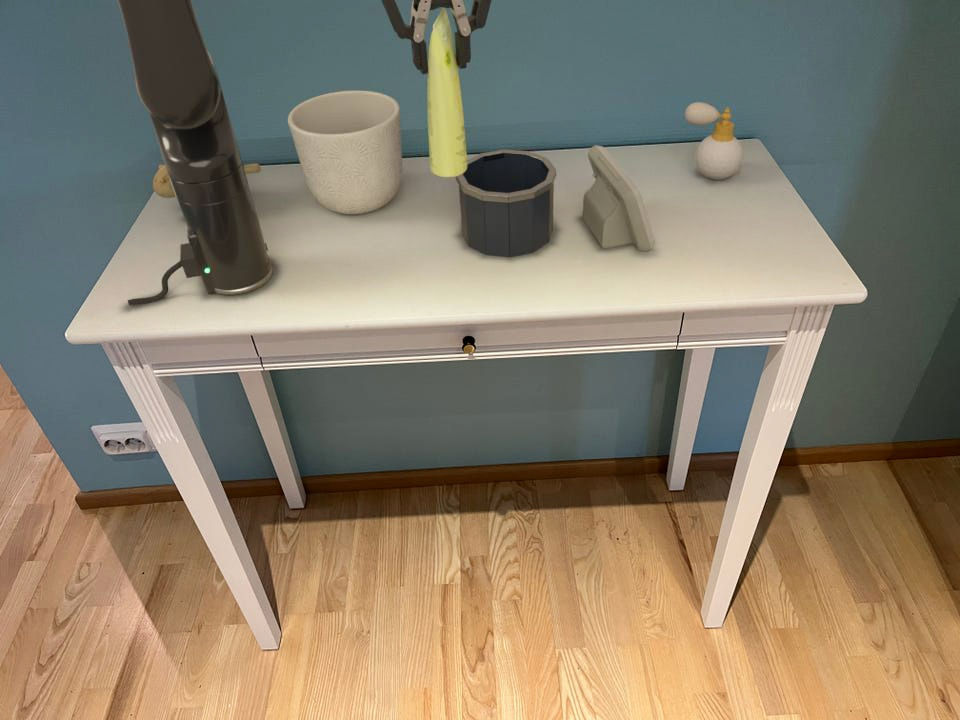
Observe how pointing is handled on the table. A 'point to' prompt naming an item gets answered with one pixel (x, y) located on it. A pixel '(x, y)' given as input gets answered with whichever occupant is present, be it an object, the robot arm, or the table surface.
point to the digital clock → (615, 205)
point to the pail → (507, 202)
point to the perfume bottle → (715, 142)
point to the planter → (349, 149)
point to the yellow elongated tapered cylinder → (445, 104)
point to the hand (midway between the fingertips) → (442, 68)
